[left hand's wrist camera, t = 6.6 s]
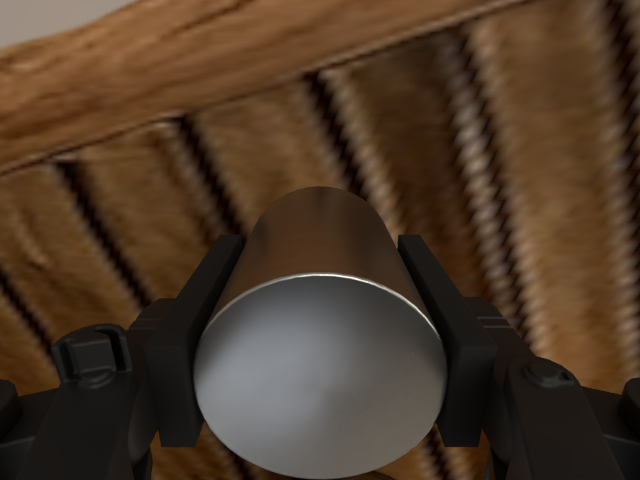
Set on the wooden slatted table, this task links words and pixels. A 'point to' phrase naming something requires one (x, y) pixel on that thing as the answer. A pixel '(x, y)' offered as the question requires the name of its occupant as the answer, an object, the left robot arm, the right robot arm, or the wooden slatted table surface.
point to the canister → (320, 344)
